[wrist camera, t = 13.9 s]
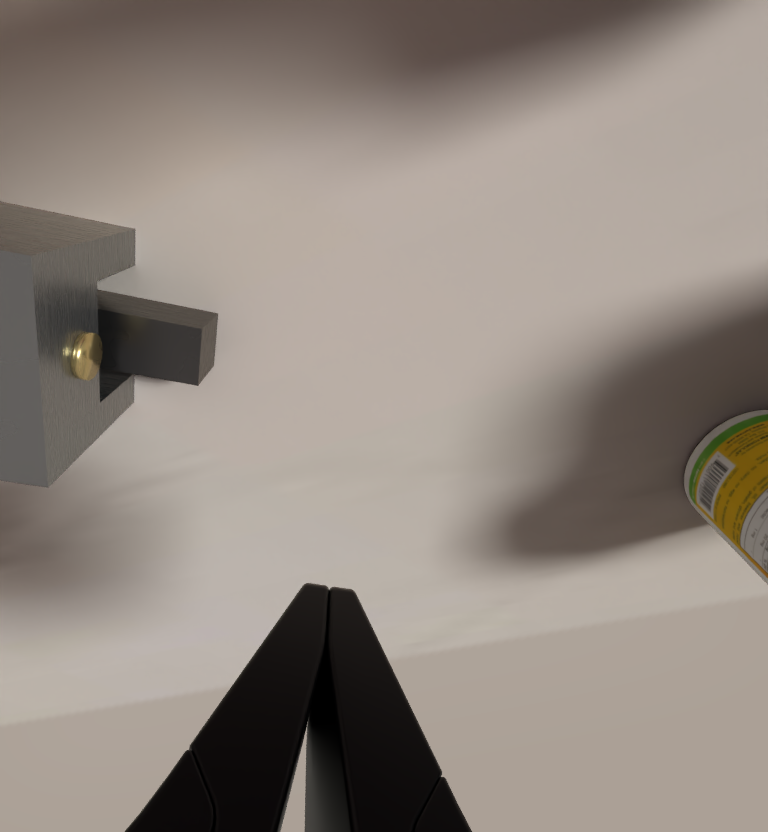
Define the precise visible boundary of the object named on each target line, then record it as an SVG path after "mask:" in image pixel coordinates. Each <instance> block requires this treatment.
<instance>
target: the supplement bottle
mask: <svg viewBox="0 0 768 832" xmlns="http://www.w3.org/2000/svg"><path fill="white" fill-rule="evenodd" d="M684 487H685V492H686V495H687V497H688V499H689V501H690V503H691V504H692V506H693V507H694V508H695V509H696V510H697V512H698V513H699V514H700V515H701V516H702V517H703V518H704V519H705V520H706V521H707V522H708V523H709V525H710V526H711V527H712V528H714V530H715V531H716V532H717V533H718V534H719V535H720V536H721V537H722V538H723V539H724V540H725V541H726V542H727V543H728V544H729V545H730V546H731V547H732V548H733V549H734V550H735V551H736V552H737V553H738V554H739V555H740V556H741V557H742V558H743V559H744V560H745V561H746V562H747V563H748V565H749V566H750V567H751V568H752V569H753V570H754V571H755V572H756V573H757V574H758V575H759V576H760V577H761V578H762V579H763V580H764V581H765V582H766V583H767V584H768V410H757V411H752V412H747V413H744V414H741V415H738V416H736V417H734V418H731V419H729V420H727V421H726V422H724V423H722V424H721V425H719V426H718V427H716V428H715V429H713V430H712V431H711V432H710V433H709V434H708V435H706V436H705V437H704V439H703V440H702V441H701V442H700V443H699V444H698V446H697V447H696V448H695V450H694V451H693V453H692V454H691V456H690V458H689V460H688V463H687V466H686V469H685V474H684Z"/></svg>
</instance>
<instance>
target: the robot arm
mask: <svg viewBox="0 0 768 832" xmlns="http://www.w3.org/2000/svg"><path fill="white" fill-rule="evenodd" d="M307 722H308V726H307ZM306 727H307V745H306V746H307V747H306V794H305V796H306V797H305V832H472V831H471V829H470V827H469V825H468V823H467V821H466V819H465V817H464V815H463V813H462V811H461V810H460V808H459V806H458V804H457V801H456V800H455V797H454V795H453V793H452V791H451V789H450V787H449V785H448V783H447V781H446V779H445V778H444V777H441V775H442V771H441V769H440V767H439V765H438V763H437V760H436V758H435V756H434V754H433V752H432V750H431V748H430V746H429V744H428V742H427V740H426V738H425V736H424V734H423V732H422V729H421V727H420V725H419V723H418V721H417V719H416V717H415V715H414V713H413V711H412V709H411V707H410V705H409V703H408V700H407V699H406V696H405V694H404V692H403V690H402V688H401V686H400V684H399V682H398V680H397V678H396V676H395V674H394V672H393V669H392V667H391V665H390V663H389V661H388V659H387V657H386V655H385V653H384V651H383V649H382V647H381V645H380V643H379V641H378V638H377V636H376V634H375V632H374V630H373V628H372V626H371V624H370V622H369V620H368V618H367V616H366V614H365V612H364V610H363V607H362V605H361V603H360V601H359V599H358V597H357V595H356V593H355V592H354V591H353V590H351V589H346V588H339V587H332V588H330V590H329V589H328V587H327V586H325V585H318V584H311V583H306V584H304V585H303V586H302V588H301V589H300V591H299V592H298V593H297V595H296V596H295V598H294V599H293V600H292V602H291V603H290V605H289V606H288V608H287V609H286V610H285V612H284V613H283V615H282V616H281V617H280V619H279V620H278V622H277V623H276V625H275V626H274V627H273V629H272V630H271V632H270V633H269V634H268V636H267V637H266V639H265V640H264V641H263V643H262V644H261V646H260V647H259V649H258V650H257V651H256V653H255V654H254V656H253V657H252V658H251V660H250V661H249V663H248V664H247V666H246V667H245V668H244V670H243V671H242V673H241V674H240V675H239V677H238V678H237V680H236V681H235V682H234V684H233V685H232V687H231V688H230V690H229V691H228V692H227V694H226V695H225V697H224V698H223V699H222V701H221V702H220V704H219V705H218V707H217V708H216V709H215V711H214V712H213V714H212V715H211V716H210V718H209V719H208V721H207V722H206V724H205V725H204V726H203V728H202V729H201V731H200V732H199V734H198V735H197V736H196V738H195V739H194V741H193V742H192V743H191V745H190V748H189V750H187V751H186V752H185V753H184V754H183V756H182V757H181V758H180V760H179V761H178V763H177V764H176V765H175V767H174V768H173V770H172V771H171V773H170V774H169V775H168V777H167V778H166V779H165V781H164V782H163V783H162V785H161V786H160V787H159V789H158V790H157V791H156V793H155V794H154V795H153V797H152V798H151V799H150V801H149V802H148V803H147V805H146V806H145V807H144V809H143V810H142V811H141V813H140V814H139V815H138V816H137V817H136V819H135V820H134V821H133V822H132V823H131V825H130V826H129V827H128V828H127V829H126V831H125V832H280V830H281V827H282V823H283V819H284V815H285V811H286V807H287V803H288V799H289V795H290V791H291V787H292V783H293V779H294V775H295V771H296V767H297V763H298V759H299V755H300V751H301V747H302V743H303V739H304V735H305V731H306Z"/></svg>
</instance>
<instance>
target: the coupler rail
mask: <svg viewBox="0 0 768 832" xmlns="http://www.w3.org/2000/svg"><path fill="white" fill-rule="evenodd" d="M97 297H98V335H99V337H100V339H101V342H102V348H103V353H102V361H101V365H100V368H104V369H109V370H115V371H120V372H126V373H131V374H137V375H142V376H148V377H153V378H159V379H164V380H170V381H175V382H181V383H186V384H192V385H197V386H198V385H199V384H200V382H201V381H202V380H203V379H204V377H205V376H206V375H207V374H208V372H209V371H210V370H211V368H212V367H213V366H214V356H215V344H216V332H217V320H218V313H213V312H208V311H203V310H198V309H192V308H187V307H182V306H177V305H172V304H167V303H162V302H157V301H152V300H147V299H142V298H137V297H132V296H127V295H122V294H117V293H112V292H107V291H102V290H97Z"/></svg>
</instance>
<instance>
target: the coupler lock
mask: <svg viewBox="0 0 768 832" xmlns="http://www.w3.org/2000/svg"><path fill="white" fill-rule="evenodd" d="M132 266H135V229H133V228H128V227H123V226H118V225H113V224H108V223H103V222H99V221H94V220H89V219H84V218H79V217H74V216H69V215H64V214H59V213H54V212H50V211H45V210H40V209H35V208H30V207H25V206H20V205H15V204H10V203H5V202H1V201H0V480H1V481H7V482H14V483H21V484H27V485H34V486H41V487H49V486H50V485H51V484H52V483H53V482H54V481H55V480H56V479H57V478H58V477H59V476H60V475H61V474H62V473H63V472H64V471H65V470H66V469H67V468H68V467H69V466H70V465H71V464H72V463H73V462H74V461H75V460H76V459H77V458H78V457H79V456H80V455H81V454H82V453H83V452H84V451H85V450H86V449H87V448H88V447H89V446H90V445H91V444H92V443H93V442H94V441H95V440H96V439H97V438H98V437H99V436H100V435H101V434H102V433H103V432H104V431H105V430H106V429H107V428H108V427H109V426H110V425H111V424H112V423H113V422H114V421H115V420H116V419H117V418H118V417H119V416H120V415H121V414H122V413H123V412H125V411H126V410H127V409H128V408H129V407H130V406H131V405H132V404H133V403H134V374H131V373H126V372H120V371H115V370H109V369H104V368H100V365H101V361H102V353H103V348H102V342H101V339H100V337H99V335H98V297H97V281H98V280H101V279H103V278H106V277H108V276H110V275H113V274H115V273H118V272H120V271H122V270H125V269H127V268H130V267H132Z"/></svg>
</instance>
